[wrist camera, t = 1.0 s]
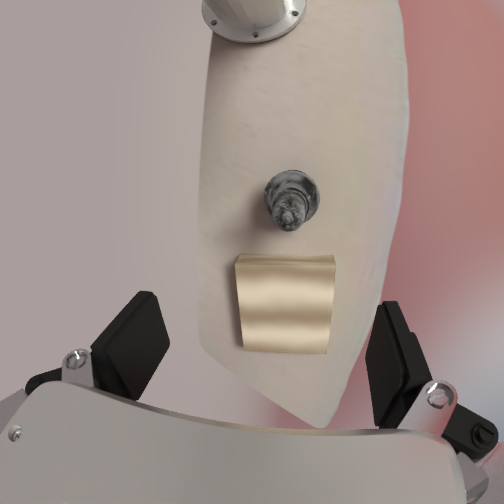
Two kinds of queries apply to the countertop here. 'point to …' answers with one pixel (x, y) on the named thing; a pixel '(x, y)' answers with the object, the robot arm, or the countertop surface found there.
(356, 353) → the countertop surface
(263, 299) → the birch base block
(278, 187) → the weathered stone finial
